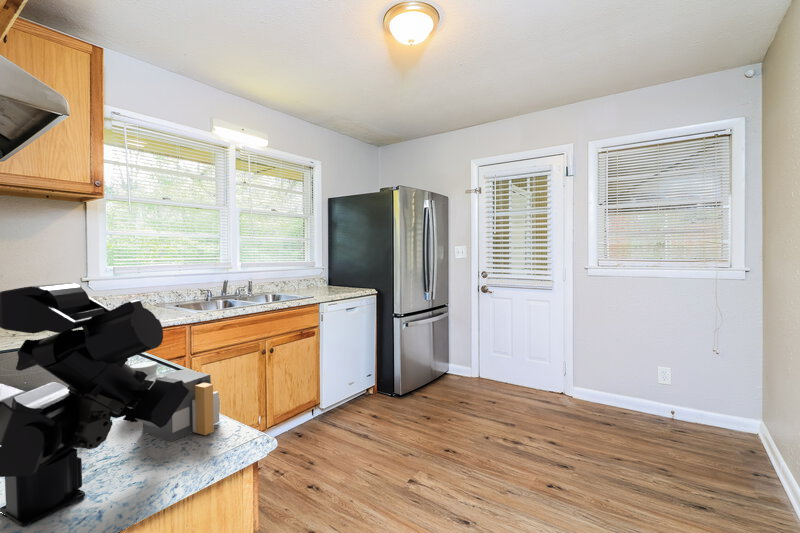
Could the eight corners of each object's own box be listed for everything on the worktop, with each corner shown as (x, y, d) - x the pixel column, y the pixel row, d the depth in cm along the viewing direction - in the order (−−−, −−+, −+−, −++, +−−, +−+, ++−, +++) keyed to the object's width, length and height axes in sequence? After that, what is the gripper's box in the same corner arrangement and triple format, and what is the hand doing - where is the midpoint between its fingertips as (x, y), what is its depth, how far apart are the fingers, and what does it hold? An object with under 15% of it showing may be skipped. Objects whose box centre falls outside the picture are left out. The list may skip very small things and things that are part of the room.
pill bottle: (168, 408, 81) (167, 361, 81) (143, 419, 76) (142, 369, 75) (147, 405, 83) (146, 359, 82) (121, 416, 77) (120, 367, 77)
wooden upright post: (205, 435, 68) (204, 387, 68) (192, 431, 69) (191, 384, 69) (228, 423, 73) (227, 379, 72) (216, 420, 74) (215, 376, 74)
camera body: (174, 442, 66) (172, 384, 66) (142, 432, 70) (141, 378, 70) (213, 423, 74) (212, 371, 73) (183, 415, 77) (182, 366, 77)
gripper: (-8, 414, 49) (86, 461, 59) (85, 439, 43) (172, 487, 53) (66, 342, 57) (138, 395, 67) (154, 354, 50) (219, 411, 60)
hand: (164, 420), depth 62 cm, fingers closed
